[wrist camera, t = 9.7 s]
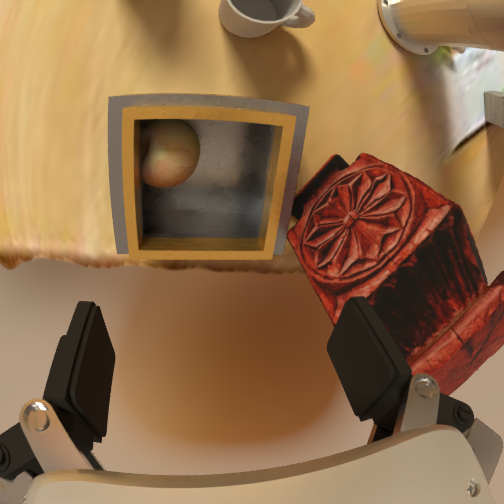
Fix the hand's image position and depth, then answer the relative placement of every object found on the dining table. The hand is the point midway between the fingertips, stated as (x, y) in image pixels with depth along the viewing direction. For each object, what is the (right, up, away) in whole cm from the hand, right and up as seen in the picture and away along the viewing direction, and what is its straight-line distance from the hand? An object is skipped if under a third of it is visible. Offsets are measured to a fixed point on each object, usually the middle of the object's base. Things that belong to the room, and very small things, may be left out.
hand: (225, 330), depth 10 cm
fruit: (-6, +13, +20) cm, 25 cm away
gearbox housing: (-5, +15, +23) cm, 28 cm away
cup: (+2, +31, +15) cm, 34 cm away
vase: (+13, +10, +30) cm, 34 cm away
